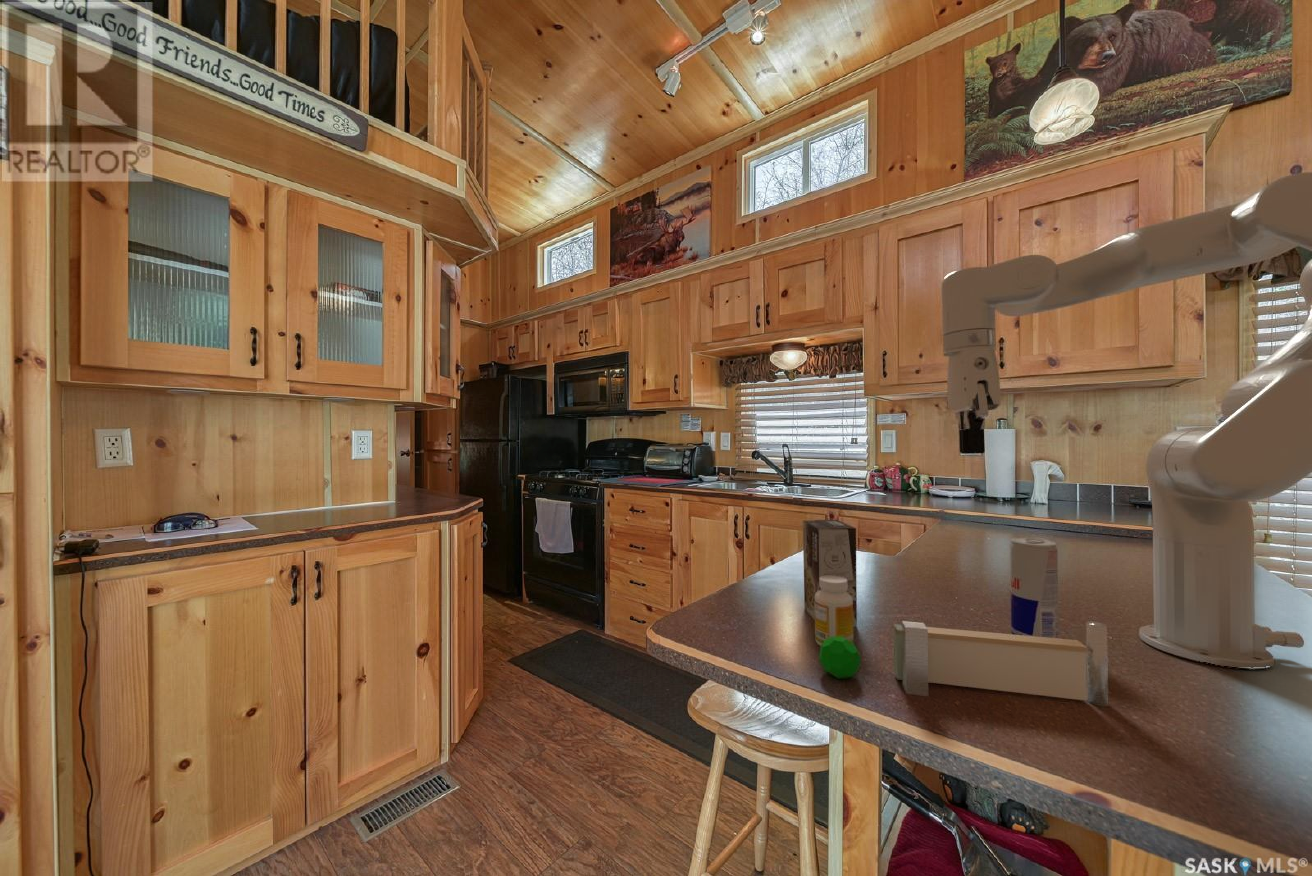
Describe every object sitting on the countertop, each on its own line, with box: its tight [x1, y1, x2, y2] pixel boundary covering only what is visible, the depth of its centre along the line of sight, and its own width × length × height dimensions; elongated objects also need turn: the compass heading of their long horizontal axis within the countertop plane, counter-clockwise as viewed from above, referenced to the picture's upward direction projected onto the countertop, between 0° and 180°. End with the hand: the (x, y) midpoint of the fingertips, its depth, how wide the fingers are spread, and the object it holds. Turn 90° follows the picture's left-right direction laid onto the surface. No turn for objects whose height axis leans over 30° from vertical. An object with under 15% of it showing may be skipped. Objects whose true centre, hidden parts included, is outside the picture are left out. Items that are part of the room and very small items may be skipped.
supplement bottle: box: [814, 575, 854, 647], centre depth 72 cm, size 5×5×10 cm
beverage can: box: [1009, 537, 1059, 639], centre depth 73 cm, size 6×6×15 cm
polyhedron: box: [818, 636, 861, 679], centre depth 63 cm, size 5×5×5 cm
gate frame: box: [901, 620, 1109, 707], centre depth 57 cm, size 22×2×9 cm, turn 81°
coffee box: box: [802, 519, 858, 628], centre depth 83 cm, size 9×6×16 cm
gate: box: [893, 623, 1088, 702], centre depth 59 cm, size 20×2×6 cm, turn 74°
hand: (972, 453), depth 81 cm, fingers closed
